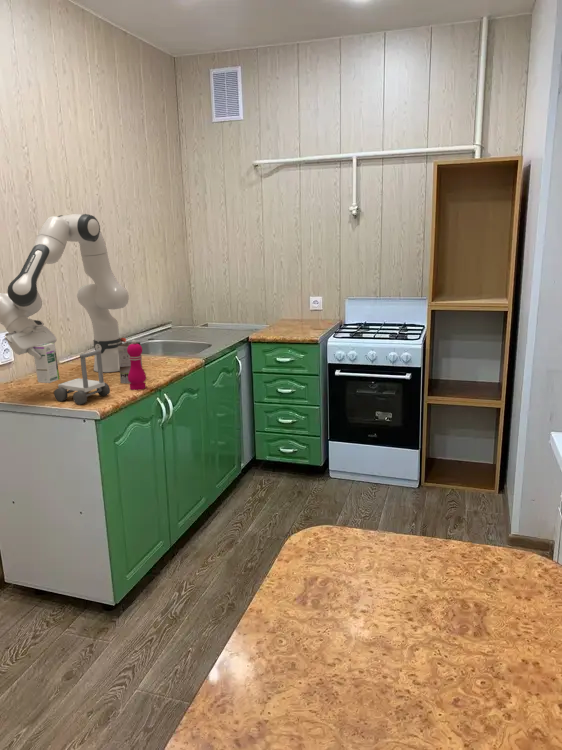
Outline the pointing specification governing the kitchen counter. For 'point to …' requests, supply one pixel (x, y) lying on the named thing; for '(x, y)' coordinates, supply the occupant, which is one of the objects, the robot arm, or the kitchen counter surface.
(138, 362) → the pepper mill
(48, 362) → the syrup box
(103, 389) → the hand trolley
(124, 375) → the coffee box
